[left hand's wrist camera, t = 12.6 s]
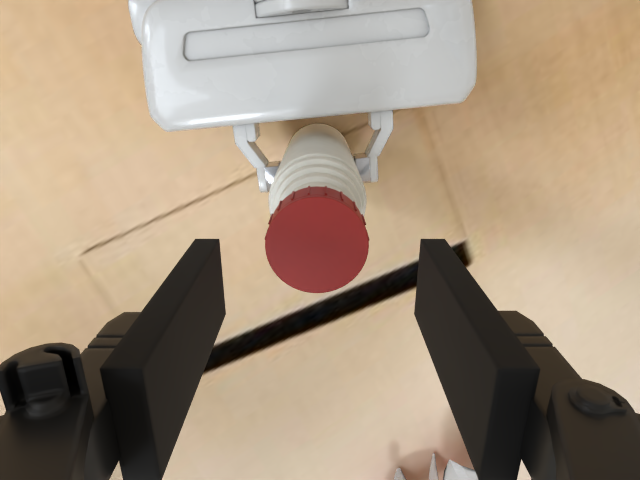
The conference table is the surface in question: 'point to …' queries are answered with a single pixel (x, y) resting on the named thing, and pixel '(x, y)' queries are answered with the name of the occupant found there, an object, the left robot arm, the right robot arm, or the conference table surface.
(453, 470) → the fish
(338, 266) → the cap
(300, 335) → the conference table surface
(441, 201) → the conference table surface
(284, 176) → the bottle
